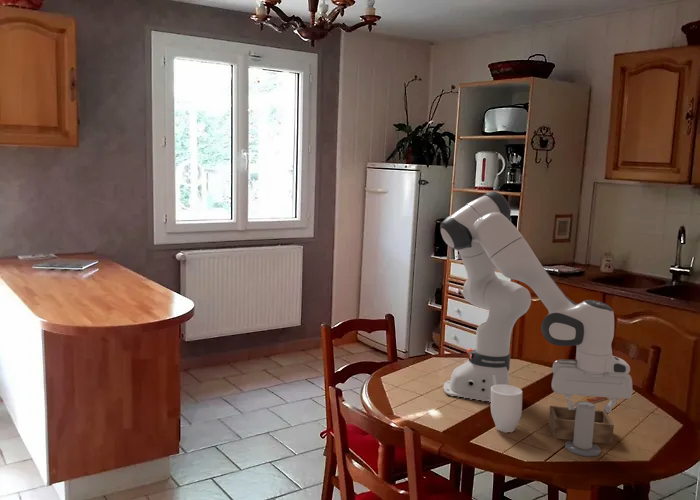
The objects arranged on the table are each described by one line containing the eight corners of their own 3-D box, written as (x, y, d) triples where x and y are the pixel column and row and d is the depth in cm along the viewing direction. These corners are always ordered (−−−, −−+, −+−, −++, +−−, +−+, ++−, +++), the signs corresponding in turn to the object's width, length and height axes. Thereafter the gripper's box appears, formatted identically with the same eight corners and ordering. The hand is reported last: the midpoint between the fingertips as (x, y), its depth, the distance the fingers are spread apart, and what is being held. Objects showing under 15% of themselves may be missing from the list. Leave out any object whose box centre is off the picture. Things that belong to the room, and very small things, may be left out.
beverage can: (593, 451, 167) (596, 408, 165) (574, 449, 168) (577, 406, 166) (590, 444, 172) (594, 402, 170) (571, 442, 173) (575, 400, 171)
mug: (520, 437, 176) (522, 396, 175) (488, 433, 179) (489, 392, 177) (521, 421, 187) (523, 382, 186) (491, 418, 190) (492, 379, 188)
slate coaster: (568, 454, 166) (568, 452, 166) (562, 440, 175) (562, 438, 175) (603, 458, 165) (604, 456, 165) (596, 443, 174) (596, 441, 173)
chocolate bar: (578, 403, 205) (579, 397, 205) (601, 397, 212) (601, 391, 211) (585, 406, 203) (586, 399, 203) (608, 400, 210) (608, 393, 209)
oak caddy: (553, 438, 176) (555, 419, 176) (548, 423, 187) (549, 405, 186) (612, 444, 174) (613, 425, 173) (603, 428, 184) (605, 410, 183)
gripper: (555, 362, 166) (551, 412, 167) (636, 367, 163) (631, 418, 165) (551, 355, 172) (547, 403, 174) (629, 360, 169) (625, 409, 171)
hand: (589, 410), depth 169 cm, fingers open, 8 cm apart
